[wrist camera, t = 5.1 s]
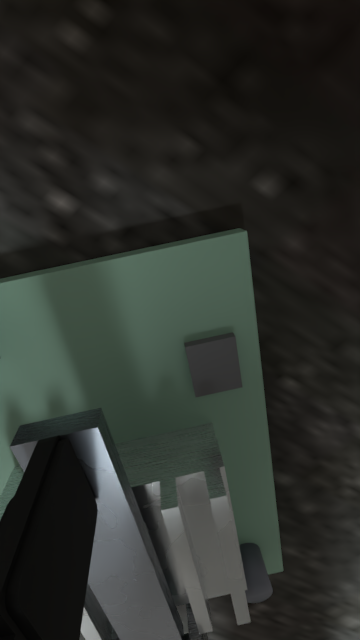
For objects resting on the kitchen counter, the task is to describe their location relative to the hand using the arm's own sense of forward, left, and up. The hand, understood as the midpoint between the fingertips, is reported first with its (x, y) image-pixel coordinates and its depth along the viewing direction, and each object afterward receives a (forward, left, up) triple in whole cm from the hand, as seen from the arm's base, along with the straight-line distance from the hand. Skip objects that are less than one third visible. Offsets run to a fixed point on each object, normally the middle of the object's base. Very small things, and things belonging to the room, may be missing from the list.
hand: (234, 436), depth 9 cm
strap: (-5, +5, -1) cm, 7 cm away
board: (-5, +5, -5) cm, 9 cm away
